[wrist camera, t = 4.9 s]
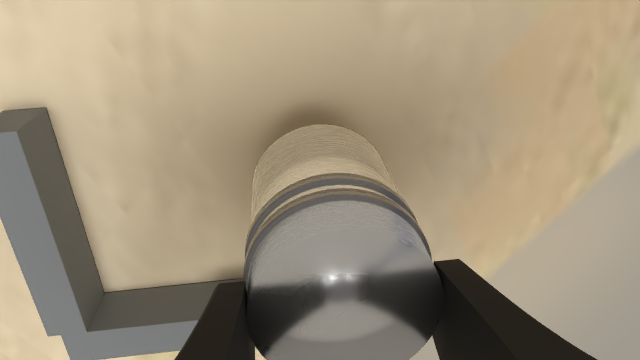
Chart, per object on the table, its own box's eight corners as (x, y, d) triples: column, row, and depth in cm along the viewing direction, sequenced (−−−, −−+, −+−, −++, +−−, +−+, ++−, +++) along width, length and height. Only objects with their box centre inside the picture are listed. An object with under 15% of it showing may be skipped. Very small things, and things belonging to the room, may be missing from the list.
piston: (394, 119, 16) (461, 220, 10) (383, 242, 18) (434, 380, 12) (245, 122, 15) (235, 229, 10) (252, 248, 17) (247, 392, 12)
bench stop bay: (399, 79, 19) (417, 98, 17) (395, 288, 23) (409, 326, 21) (3, 110, 18) (-35, 136, 16) (78, 322, 23) (58, 365, 20)
